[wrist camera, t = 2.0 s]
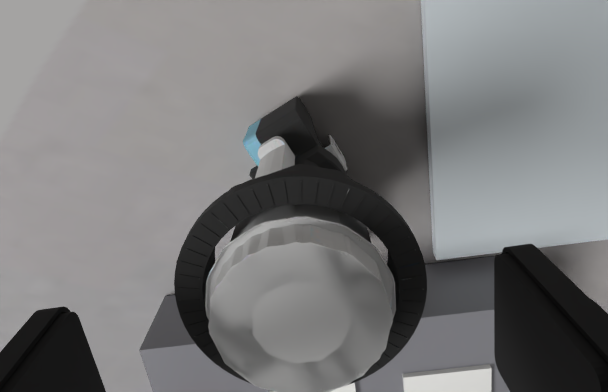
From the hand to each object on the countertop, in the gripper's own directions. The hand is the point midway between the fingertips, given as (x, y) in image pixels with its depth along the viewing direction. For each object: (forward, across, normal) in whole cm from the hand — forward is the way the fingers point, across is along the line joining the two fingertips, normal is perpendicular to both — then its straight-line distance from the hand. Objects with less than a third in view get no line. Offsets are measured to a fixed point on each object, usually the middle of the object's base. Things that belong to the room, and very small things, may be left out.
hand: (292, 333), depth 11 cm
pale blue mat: (+9, -10, -2) cm, 14 cm away
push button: (+9, -1, -1) cm, 9 cm away
